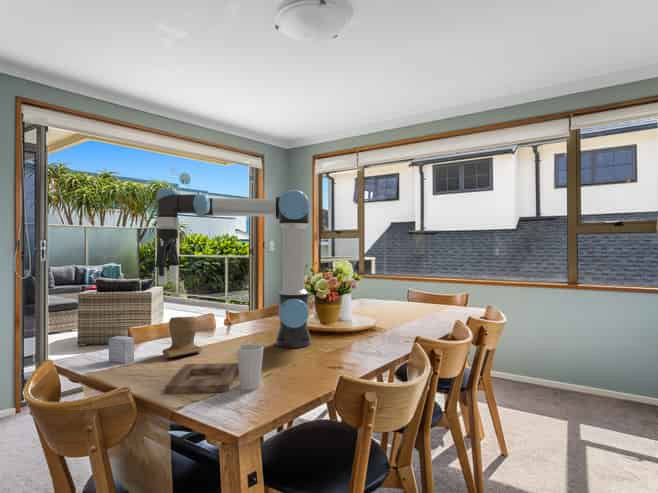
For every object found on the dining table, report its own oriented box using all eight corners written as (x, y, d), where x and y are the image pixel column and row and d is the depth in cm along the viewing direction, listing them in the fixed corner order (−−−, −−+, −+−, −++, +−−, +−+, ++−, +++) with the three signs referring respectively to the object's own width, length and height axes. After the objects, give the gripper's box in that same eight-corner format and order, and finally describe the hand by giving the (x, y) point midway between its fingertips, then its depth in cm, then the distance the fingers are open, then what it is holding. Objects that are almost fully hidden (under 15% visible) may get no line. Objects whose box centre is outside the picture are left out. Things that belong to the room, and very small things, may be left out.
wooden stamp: (189, 348, 170) (189, 312, 169) (206, 353, 162) (206, 315, 162) (154, 355, 158) (154, 317, 158) (170, 361, 150) (170, 320, 150)
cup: (238, 382, 128) (238, 344, 128) (264, 381, 129) (264, 343, 129) (235, 391, 120) (235, 350, 120) (262, 390, 121) (262, 350, 121)
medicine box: (134, 360, 151) (134, 337, 151) (125, 364, 147) (125, 340, 147) (118, 358, 154) (118, 335, 154) (108, 361, 150) (108, 338, 149)
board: (238, 368, 142) (238, 362, 142) (228, 391, 120) (228, 384, 120) (185, 369, 141) (185, 363, 141) (165, 393, 119) (165, 386, 119)
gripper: (167, 230, 171) (168, 280, 171) (145, 227, 147) (146, 286, 147) (186, 229, 172) (186, 280, 172) (167, 227, 147) (167, 285, 147)
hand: (168, 283), depth 159 cm, fingers open, 13 cm apart
